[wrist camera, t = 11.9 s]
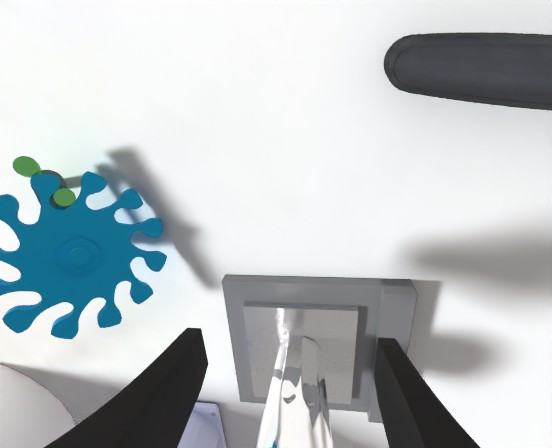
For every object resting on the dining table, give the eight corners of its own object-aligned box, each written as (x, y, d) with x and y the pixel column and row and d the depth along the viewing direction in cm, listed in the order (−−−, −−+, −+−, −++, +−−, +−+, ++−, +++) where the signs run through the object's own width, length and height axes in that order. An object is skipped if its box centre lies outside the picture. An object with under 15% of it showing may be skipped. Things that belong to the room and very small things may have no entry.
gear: (189, 292, 21) (13, 380, 16) (168, 275, 26) (29, 338, 20) (129, 134, 18) (-107, 178, 13) (118, 148, 23) (-56, 185, 18)
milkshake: (267, 374, 24) (237, 552, 14) (272, 324, 21) (240, 497, 12) (323, 384, 23) (329, 572, 14) (335, 334, 21) (350, 519, 12)
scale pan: (350, 397, 24) (350, 404, 24) (255, 390, 25) (254, 396, 25) (357, 305, 20) (358, 311, 20) (244, 301, 21) (242, 306, 21)
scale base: (389, 404, 25) (394, 426, 24) (242, 393, 27) (237, 412, 25) (410, 279, 20) (418, 296, 18) (224, 274, 22) (217, 289, 20)
